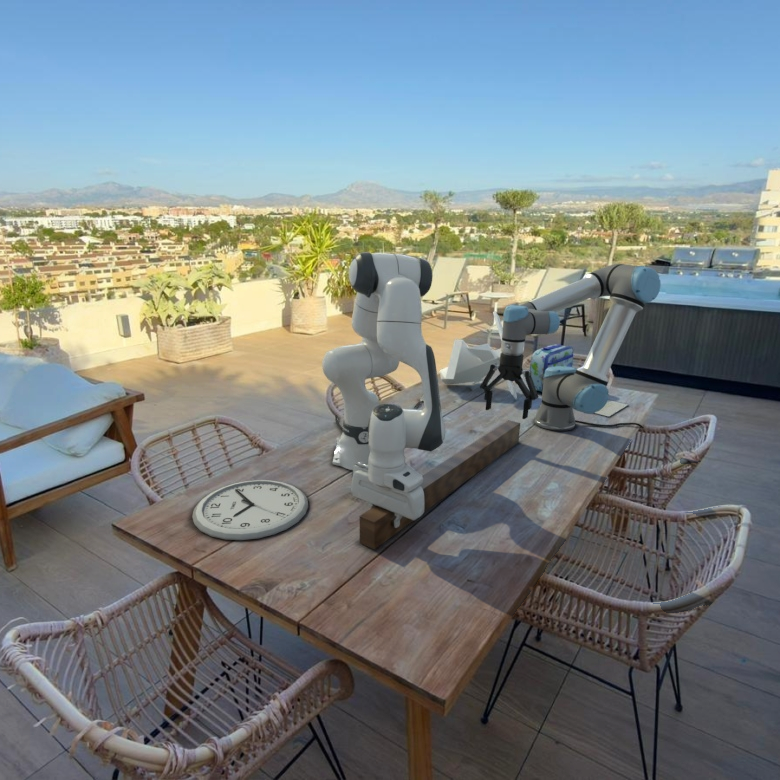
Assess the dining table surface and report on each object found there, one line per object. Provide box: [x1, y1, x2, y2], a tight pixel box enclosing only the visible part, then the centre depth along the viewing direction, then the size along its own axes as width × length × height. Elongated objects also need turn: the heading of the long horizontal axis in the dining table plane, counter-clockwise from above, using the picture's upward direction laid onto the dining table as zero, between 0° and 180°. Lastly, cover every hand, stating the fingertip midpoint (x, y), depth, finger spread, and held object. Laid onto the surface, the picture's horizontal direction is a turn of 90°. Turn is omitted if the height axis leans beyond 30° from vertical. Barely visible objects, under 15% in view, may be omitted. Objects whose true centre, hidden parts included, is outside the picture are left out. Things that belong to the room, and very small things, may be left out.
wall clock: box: [191, 479, 309, 541], centre depth 140 cm, size 30×2×30 cm
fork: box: [414, 393, 424, 409], centre depth 226 cm, size 3×16×2 cm, turn 160°
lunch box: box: [529, 344, 574, 393], centre depth 247 cm, size 26×11×21 cm, turn 134°
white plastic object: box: [438, 310, 529, 400], centre depth 245 cm, size 37×45×31 cm
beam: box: [359, 420, 521, 550], centre depth 156 cm, size 83×5×7 cm, turn 143°
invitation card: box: [594, 399, 629, 418], centre depth 226 cm, size 21×1×15 cm
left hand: (385, 522), depth 130 cm, fingers closed on beam, 4 cm apart
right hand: (506, 413), depth 179 cm, fingers open, 13 cm apart
